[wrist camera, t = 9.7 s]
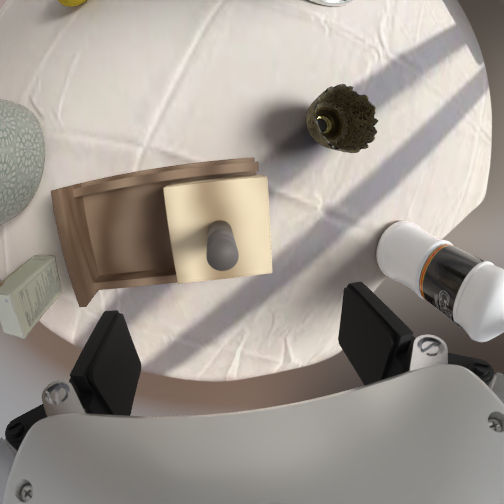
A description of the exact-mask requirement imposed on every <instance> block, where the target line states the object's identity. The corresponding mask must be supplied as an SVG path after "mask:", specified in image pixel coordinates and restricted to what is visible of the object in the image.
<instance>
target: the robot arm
mask: <svg viewBox="0 0 504 504" xmlns="http://www.w3.org/2000/svg"><path fill="white" fill-rule="evenodd" d="M309 1H312V2H315V3H317V4H322V5H326V6H343V5H347V4H349V3H351V2H352V1H353V0H309ZM412 335H413V332H412V331H411V330H410V329H409V328H408V327H407V326H406V325H405V324H404V323H403V322H402V321H401V320H400V319H399V318H398V317H397V316H396V315H395V314H394V313H393V312H392V311H391V310H390V309H389V308H388V307H387V306H386V305H385V304H384V303H383V302H382V301H381V300H380V299H379V298H378V297H377V296H376V295H375V294H374V293H373V292H372V291H371V290H370V289H369V288H368V287H367V286H365V285H364V284H363V283H362V282H356V283H350V284H348V286H347V287H346V288H345V289H344V293H343V303H342V313H341V321H340V329H339V337H338V340H339V344H340V346H341V348H342V349H343V351H344V352H345V354H346V356H347V357H348V359H349V361H350V362H351V364H352V365H353V367H354V368H355V370H356V372H357V373H358V375H359V377H360V378H361V380H362V382H363V383H364V385H365V386H362V387H358V388H354V389H351V390H347V391H344V392H340V393H336V394H332V395H329V396H325V397H321V398H316V399H311V400H307V401H302V402H297V403H292V404H287V405H281V406H275V407H269V408H263V409H256V410H249V411H241V412H232V413H221V414H209V415H194V416H130V414H131V409H132V404H133V400H134V396H135V392H136V388H137V384H138V379H139V375H140V372H141V362H140V359H139V357H138V354H137V352H136V349H135V347H134V344H133V341H132V339H131V336H130V333H129V330H128V327H127V324H126V322H125V319H124V316H123V314H120V313H119V312H118V311H117V310H116V311H105V312H104V313H103V315H102V316H101V318H100V320H99V321H98V323H97V325H96V327H95V328H94V330H93V332H92V334H91V336H90V337H89V339H88V341H87V343H86V345H85V347H84V348H83V350H82V352H81V354H80V356H79V358H78V360H77V362H76V364H75V366H74V368H73V370H72V372H71V374H70V376H71V378H70V380H69V382H68V381H65V380H57V381H54V382H52V383H50V384H49V385H48V386H47V387H46V388H45V389H44V391H43V393H42V401H43V404H42V405H40V406H38V407H36V408H35V409H32V410H30V411H29V412H27V413H25V414H23V415H21V416H19V417H17V418H16V419H14V420H12V421H11V422H10V423H9V424H8V426H7V428H6V431H5V436H6V439H5V440H4V439H3V438H1V439H0V504H504V375H502V374H501V373H497V374H496V375H494V370H493V368H492V366H491V365H490V364H489V363H487V362H486V361H484V360H481V359H477V358H471V357H466V356H461V355H457V354H452V353H448V349H447V345H446V343H445V342H444V341H443V340H442V339H440V338H439V337H437V336H433V335H421V336H419V337H417V338H416V339H415V338H414V337H413V336H412Z"/></svg>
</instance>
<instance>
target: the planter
mask: <svg viewBox="0 0 504 504" xmlns="http://www.w3.org/2000/svg"><path fill="white" fill-rule="evenodd" d="M44 160H45V143H44V136H43V132H42V129H41V126H40V124H39V122H38V120H37V118H36V117H35V116H34V114H33V113H32V112H31V111H30V110H29V109H27V108H26V107H24V106H22V105H20V104H17V103H14V102H11V101H7V100H2V99H0V225H1V224H3V223H5V222H7V221H8V220H10V219H12V218H13V217H15V216H16V215H18V214H19V213H20V212H21V211H22V210H23V209H24V208H25V207H26V206H27V205H28V203H29V202H30V201H31V199H32V198H33V196H34V194H35V192H36V190H37V188H38V185H39V183H40V180H41V177H42V173H43V168H44Z"/></svg>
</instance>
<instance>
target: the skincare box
mask: <svg viewBox="0 0 504 504" xmlns="http://www.w3.org/2000/svg"><path fill="white" fill-rule="evenodd" d="M61 293H62V291H61V286H60V281H59V277H58V272H57V267H56V262H55V257H54V256H44V255H35V256H34V257H32V258H31V259H29V260H28V261H27V262H26V263H24V264H23V265H22V266H20V267H19V268H18V269H16V270H15V271H14V272H13V273H11V274H10V275H9V276H8V277H6V278H5V279H4V280H3V281H2V282H1V283H0V324H1V327H2V329H3V331H4V333H5V334H9V335H12V336H16V337H19V338H23V339H24V338H25V337H26V336H27V335H28V333H29V332H30V331H31V329H32V328H33V327H34V326H35V324H36V323H37V322H38V320H39V319H40V318H41V317H42V315H43V314H44V313H45V312H46V311H47V309H48V308H49V307H50V306H51V305H52V303H53V302H54V301H55V300H56V299H57V298H58V296H59V295H60V294H61Z"/></svg>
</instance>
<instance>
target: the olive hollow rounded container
mask: <svg viewBox="0 0 504 504" xmlns="http://www.w3.org/2000/svg"><path fill="white" fill-rule="evenodd" d="M374 114H375V106H374V105H373V104H372V103H370V102H369V101H368V97H367V96H366V95H359V94H357V92H355V91H353V87H352V86H349V87H347V86H346V85H345V84H340V85H337V86H335V87H332V86H331V87H329V88H328V89H327V90H326V91H324V92H323V93H322V94H321V95H320V96H319V97H318V98H317V99H316V100H315V101H314V102H313V103H312V104H311V106H310V107H309V109H308V112H307V116H306V124H307V128H308V131H309V133H310V135H311V136H312V137H313V139H314V140H315V141H317V142H318V143H319V144H321V145H323V146H325V147H327V148H330V149H334V150H339V151H343V152H349V153H357V152H359V151H360V150H361V149H366V148H368V145H367V143H370V142H372V141H373V140H374V139H375V137H374V136H375V134H376V133H377V131H376V129H375V127H373V126H374V125H375V124H376V123H377V122H378V120H377V119H375V118H374ZM319 119H322V120H324V121H325V122H326V124H327V128H326V130H324V131H321V130H320V128H319V125H318V122H317V120H319Z"/></svg>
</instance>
